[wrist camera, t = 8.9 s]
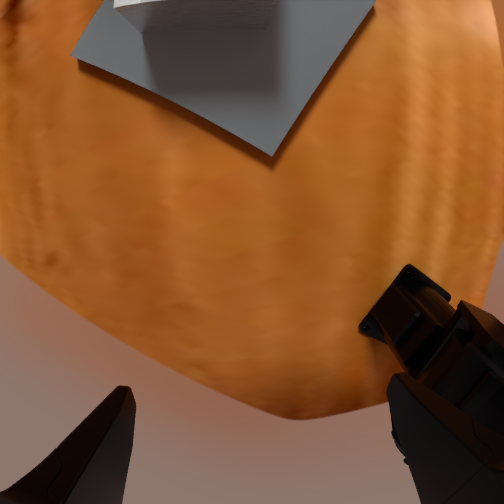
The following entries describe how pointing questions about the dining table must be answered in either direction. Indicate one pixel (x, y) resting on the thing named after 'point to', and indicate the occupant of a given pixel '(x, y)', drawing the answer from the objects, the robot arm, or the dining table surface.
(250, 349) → the dining table surface
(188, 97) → the duct plate
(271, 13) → the collar
